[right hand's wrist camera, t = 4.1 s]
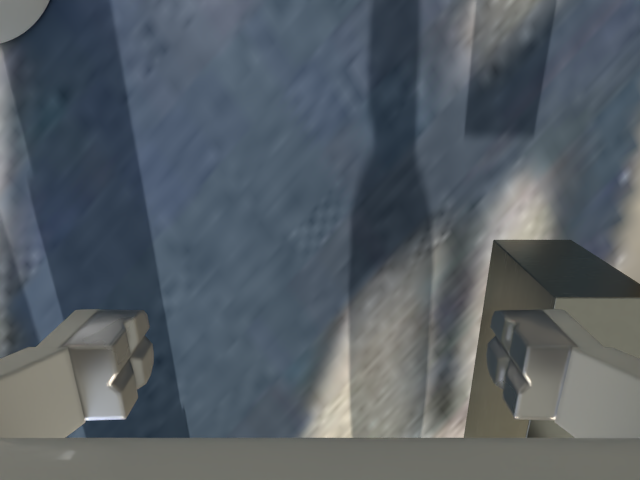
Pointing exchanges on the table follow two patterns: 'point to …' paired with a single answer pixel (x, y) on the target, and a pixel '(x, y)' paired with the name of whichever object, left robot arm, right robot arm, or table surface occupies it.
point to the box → (545, 293)
